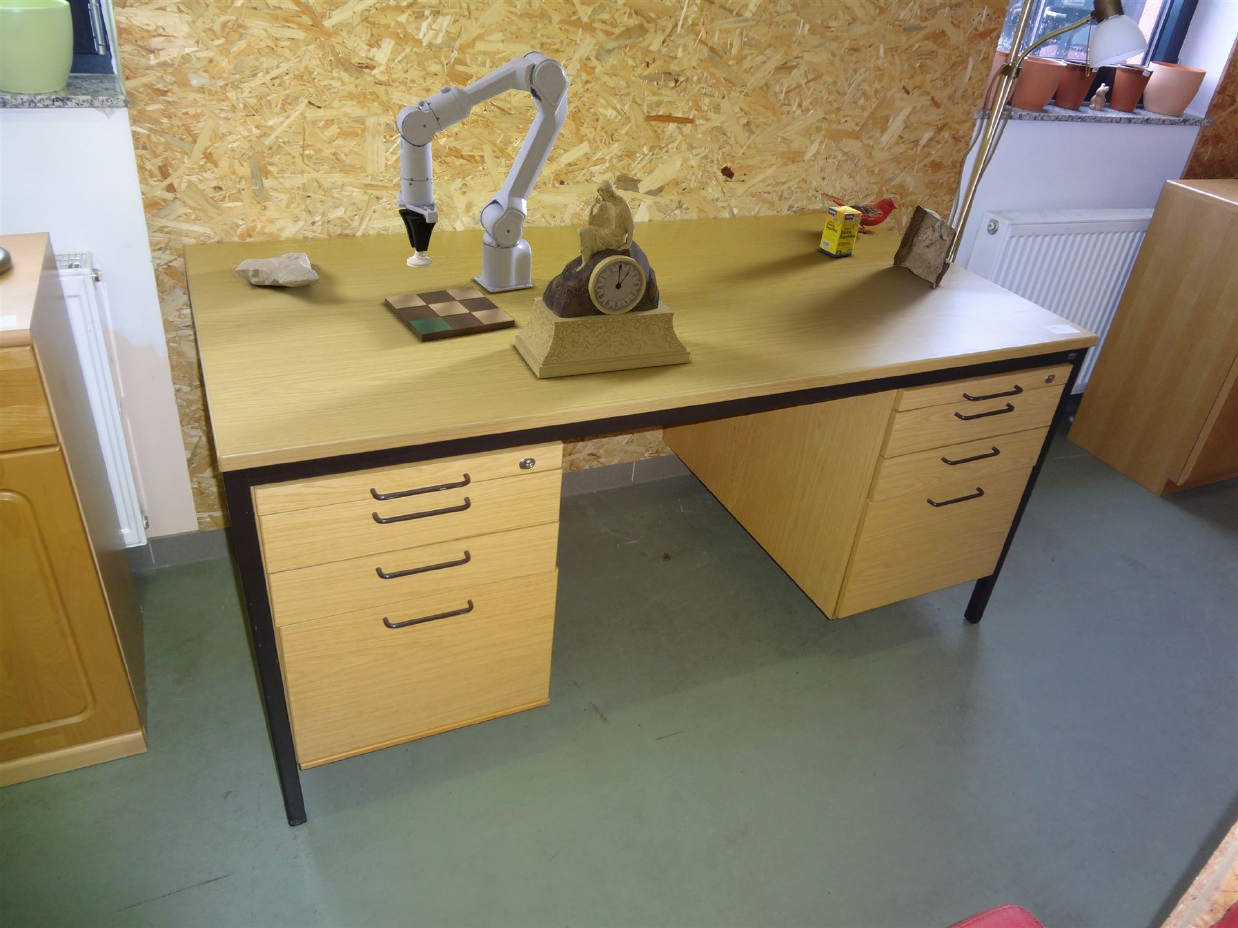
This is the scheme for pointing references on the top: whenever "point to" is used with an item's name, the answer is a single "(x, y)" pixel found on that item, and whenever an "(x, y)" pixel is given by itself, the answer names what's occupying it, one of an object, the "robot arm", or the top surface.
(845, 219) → the supplement box
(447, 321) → the game board
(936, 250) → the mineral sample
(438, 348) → the top surface
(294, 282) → the rock
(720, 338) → the top surface
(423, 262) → the chess piece
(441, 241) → the top surface
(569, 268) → the decorative clock
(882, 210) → the decorative bird figurine
